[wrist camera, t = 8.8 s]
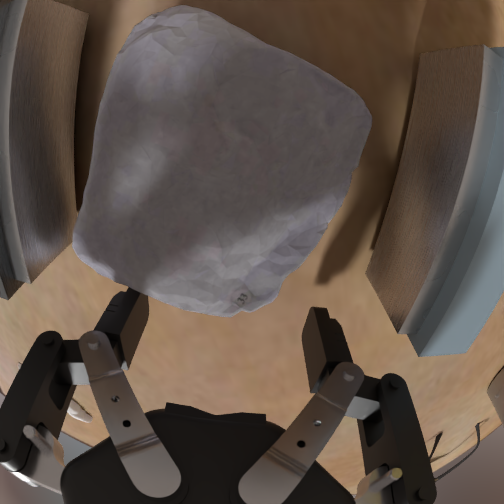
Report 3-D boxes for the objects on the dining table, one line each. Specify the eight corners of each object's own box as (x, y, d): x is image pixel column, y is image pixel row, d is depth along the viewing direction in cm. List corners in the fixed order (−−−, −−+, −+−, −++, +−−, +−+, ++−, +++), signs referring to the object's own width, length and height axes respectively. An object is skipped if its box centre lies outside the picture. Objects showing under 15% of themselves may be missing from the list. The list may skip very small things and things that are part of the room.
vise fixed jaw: (99, 8, 8) (20, -23, 3) (87, 237, 14) (24, 305, 8) (39, 24, 8) (-41, 15, 3) (35, 230, 14) (-29, 286, 8)
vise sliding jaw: (475, 79, 9) (558, 88, 4) (418, 283, 15) (465, 353, 10) (415, 46, 9) (499, 30, 4) (359, 276, 14) (399, 357, 9)
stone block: (352, 93, 12) (157, 11, 9) (412, 109, 8) (137, -20, 5) (254, 276, 18) (90, 234, 14) (272, 338, 14) (62, 293, 10)
